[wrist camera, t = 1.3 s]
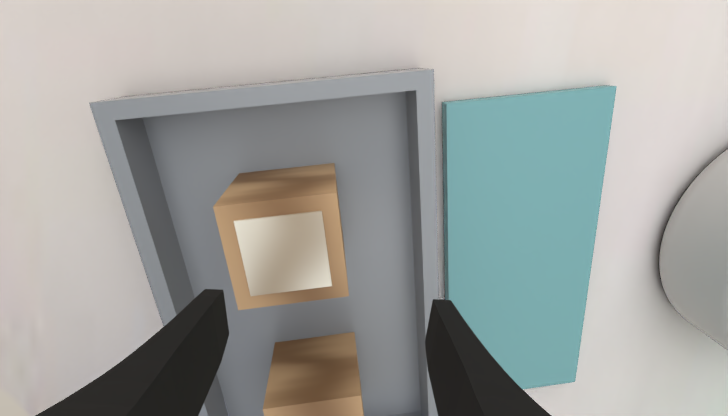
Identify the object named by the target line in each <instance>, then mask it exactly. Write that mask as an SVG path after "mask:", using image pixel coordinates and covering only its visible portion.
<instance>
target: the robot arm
mask: <svg viewBox="0 0 728 416" xmlns="http://www.w3.org/2000/svg"><path fill="white" fill-rule="evenodd" d="M228 337H229V328H228V321H227V313H226V306H225V299H224V291H223V290H219V289H205V290H203V291H202V292H201V293H200V294H199V295H198V296H197V297H196V298H195V299H193V300H192V301H191V302H190V303H189V304H188V305H187V306H186V307H185V308H184V309H183V310H182V311H181V312H180V313H178V314H177V315H176V316H175V317H174V318H173V319H172V320H171V321H170V322H169V323H167V324H166V325H165V326H164V327H163V328H162V329H161V330H160V331H158V332H157V333H156V334H155V335H154V336H153V337H151V338H150V339H149V340H148V341H147V342H145V343H144V344H143V345H142V346H140V347H139V348H138V349H137V350H136V351H134V352H133V353H132V354H131V355H129V356H128V357H127V358H125V359H124V360H123V361H121V362H120V363H119V364H117V365H116V366H114V367H113V368H112V369H110V370H109V371H107V372H106V373H105V374H103V375H102V376H100V377H99V378H97V379H96V380H94V381H93V382H91V383H89V384H88V385H86V386H85V387H83V388H81V389H80V390H78V391H77V392H75V393H73V394H72V395H70V396H69V397H67V398H65V399H64V400H62V401H60V402H59V403H57V404H55V405H54V406H52V407H50V408H48V409H46V410H45V411H43V412H41V413H39V414H38V415H36V416H198V415H199V413H200V411H201V408H202V406H203V404H204V401H205V399H206V397H207V394H208V392H209V390H210V387H211V385H212V383H213V380H214V378H215V376H216V373H217V371H218V369H219V366H220V364H221V361H222V358H223V354H224V351H225V347H226V344H227V340H228ZM425 349H426V358H427V367H428V373H429V378H430V382H431V386H432V391H433V395H434V400H435V404H436V408H437V413H438V416H551V415H550V414H549V413H548V412H546V411H545V410H544V409H543V408H542V407H541V406H539V405H538V404H537V403H536V402H535V401H534V400H533V399H532V398H531V397H530V396H529V395H528V394H527V393H526V392H525V391H524V390H523V389H522V388H521V387H520V386H519V385H518V384H517V383H516V382H515V381H514V380H513V379H512V378H511V377H510V376H509V375H508V374H507V373H506V372H505V371H504V369H503V368H502V367H501V366H500V365H499V364H498V362H497V361H496V360H495V359H494V358H493V357H492V355H491V354H490V353H489V352H488V350H487V349H486V348H485V347H484V345H483V344H482V343H481V341H480V340H479V339H478V338H477V336H476V335H475V334H474V332H473V331H472V330H471V328H470V327H469V325H468V324H467V323H466V321H465V320H464V318H463V317H462V316H461V314H460V313H459V311H458V310H457V308H456V307H455V305H454V304H453V303H452V301H451V300H438V299H433V301H432V307H431V312H430V317H429V322H428V328H427V333H426V338H425ZM224 402H225V401H224ZM225 405H226V404H225ZM226 409H227V408H226ZM227 412H228V411H227ZM228 416H229V414H228Z"/></svg>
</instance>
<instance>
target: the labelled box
mask: <svg viewBox="0 0 728 416" xmlns="http://www.w3.org/2000/svg"><path fill="white" fill-rule="evenodd" d="M213 209H214V213H215V217H216V221H217V225H218V229H219V233H220V237H221V241H222V245H223V249H224V254H225V258H226V262H227V266H228V270H229V274H230V278H231V282H232V286H233V290H234V294H235V298H236V302H237V307H238V310H244V309H252V308H260V307H268V306H276V305H284V304H292V303H299V302H307V301H315V300H323V299H331V298H339V297H347V296H349V290H348V280H347V269H346V259H345V249H344V240H343V232H342V223H341V215H340V206H339V198H338V190H337V181H336V173H335V164H334V163H329V164H320V165H311V166H301V167H292V168H283V169H274V170H265V171H255V172H246V173H239V174H238V175H237V177H236V178H235V179H234V180H233V182H232V183H231V184H230V186H229V187H228V188H227V189H226V191H225V192H224V193H223V195H222V196H221V197H220V198H219V200H218V201H217V202H216V204H215V205H214V206H213Z"/></svg>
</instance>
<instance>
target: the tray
mask: <svg viewBox="0 0 728 416" xmlns="http://www.w3.org/2000/svg"><path fill="white" fill-rule="evenodd" d="M89 104H90V107H91V110H92V113H93V116H94V119H95V122H96V125H97V128H98V131H99V134H100V137H101V140H102V143H103V146H104V149H105V152H106V155H107V158H108V161H109V164H110V167H111V170H112V173H113V176H114V179H115V182H116V185H117V188H118V191H119V194H120V197H121V200H122V203H123V206H124V209H125V212H126V215H127V218H128V221H129V224H130V227H131V230H132V233H133V236H134V239H135V242H136V245H137V248H138V251H139V254H140V257H141V260H142V263H143V266H144V269H145V272H146V275H147V278H148V281H149V284H150V287H151V290H152V293H153V296H154V299H155V302H156V305H157V308H158V311H159V314H160V317H161V320H162V323H163V326H165V325H166V324H167V323H169V322H170V321H171V320H172V319H173V318H174V317H175V316H176V315H177V314H178V313H180V312H181V311H182V310H183V309H184V308H185V307H186V306H187V305H188V304H189V303H190V302H191V301H192V300H193V299H195V298H196V297H197V296H198V295H199V294H200V293H201V292H202V291H203V290H205V289H219V290H223V291H224V299H225V306H226V313H227V321H228V328H229V337H228V340H227V344H226V347H225V351H224V354H223V358H222V361H221V364H220V366H219V369H218V371H217V373H216V376H215V378H214V380H213V383H212V385H211V387H210V390H209V392H208V394H207V397H206V399H205V401H204V404H203V406H202V408H201V411H200V413H199V415H198V416H228V414H229V416H264V412H263V405H264V400H265V394H266V389H267V383H268V378H269V372H270V367H271V361H272V356H273V350H274V345H275V342H282V341H290V340H297V339H305V338H312V337H320V336H328V335H335V334H343V333H350V332H355V341H356V349H357V358H358V366H359V374H360V383H361V391H362V401H363V410H364V416H438V413H437V408H436V404H435V400H434V395H433V391H432V386H431V382H430V378H429V373H428V367H427V358H426V349H425V338H426V333H427V328H428V322H429V317H430V312H431V307H432V301H433V299H438V300H439V289H438V244H437V198H436V153H435V108H434V69H423V68H415V69H404V70H394V71H384V72H373V73H363V74H353V75H342V76H332V77H322V78H312V79H301V80H291V81H281V82H270V83H260V84H250V85H239V86H229V87H219V88H208V89H198V90H188V91H177V92H167V93H157V94H146V95H136V96H126V97H119V98H114V99H108V100H102V101H97V102H91V103H89ZM329 163H334V164H335V173H336V181H337V190H338V198H339V206H340V215H341V223H342V232H343V240H344V249H345V259H346V269H347V280H348V290H349V296H347V297H339V298H331V299H323V300H315V301H307V302H299V303H292V304H284V305H276V306H268V307H260V308H252V309H244V310H238V307H237V302H236V298H235V294H234V290H233V286H232V282H231V278H230V274H229V270H228V266H227V262H226V258H225V254H224V249H223V245H222V241H221V237H220V233H219V229H218V225H217V221H216V217H215V213H214V209H213V206H214V205H215V204H216V202H217V201H218V200H219V198H220V197H221V196H222V195H223V193H224V192H225V191H226V189H227V188H228V187H229V186H230V184H231V183H232V182H233V180H234V179H235V178H236V177H237V175H238V174H239V173H246V172H255V171H265V170H274V169H283V168H292V167H301V166H311V165H320V164H329ZM224 401H225V402H224ZM225 404H226V405H225ZM226 408H227V409H226ZM227 411H228V412H227Z"/></svg>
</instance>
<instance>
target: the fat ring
mask: <svg viewBox="0 0 728 416" xmlns="http://www.w3.org/2000/svg"><path fill="white" fill-rule="evenodd" d="M659 267H660V276H661V281H662V285H663V288H664V291H665V293H666V295H667V297H668V299H669V301H670V302H671V304H672V305H673V307H674V308H675V309H676V311H677V312H678V313H679V314H680V315H681V316H682V317H683V318H684V319H685V320H687V321H688V322H689V323H691V324H692V325H693V326H695V327H696V328H698V329H699V330H700V331H702V332H703V333H705V334H706V335H707V336H709V337H710V338H711V339H713V340H714V341H716V342H717V343H718V344H720V345H721V346H723V347H724V348H725V349H727V350H728V149H727V150H726V151H724V152H723V153H722V154H720V155H719V156H718V157H717V158H716V159H714V160H713V161H712V162H711V163H710V164H709V165H708V166H707V167H706V168H705V169H704V170H703V171H702V172H701V173H700V174H699V175H698V176H697V177H696V178H695V180H694V181H693V182H692V183H691V185H690V186H689V187H688V188H687V190H686V191H685V193H684V194H683V195H682V197H681V198H680V200H679V202H678V203H677V205H676V207H675V209H674V211H673V212H672V214H671V217H670V219H669V221H668V224H667V226H666V229H665V232H664V235H663V239H662V243H661V249H660V259H659Z"/></svg>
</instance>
